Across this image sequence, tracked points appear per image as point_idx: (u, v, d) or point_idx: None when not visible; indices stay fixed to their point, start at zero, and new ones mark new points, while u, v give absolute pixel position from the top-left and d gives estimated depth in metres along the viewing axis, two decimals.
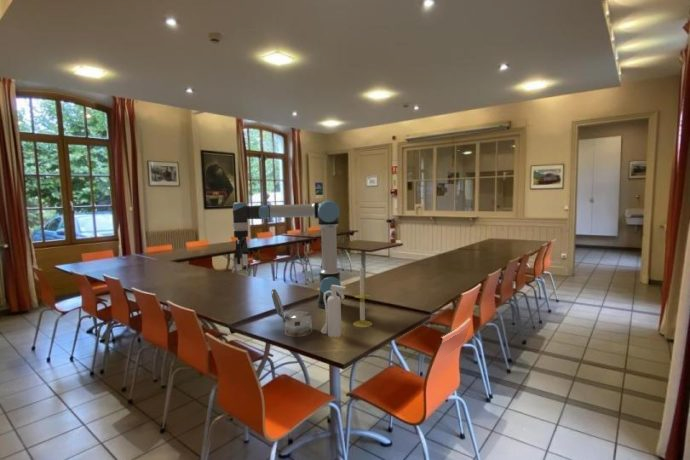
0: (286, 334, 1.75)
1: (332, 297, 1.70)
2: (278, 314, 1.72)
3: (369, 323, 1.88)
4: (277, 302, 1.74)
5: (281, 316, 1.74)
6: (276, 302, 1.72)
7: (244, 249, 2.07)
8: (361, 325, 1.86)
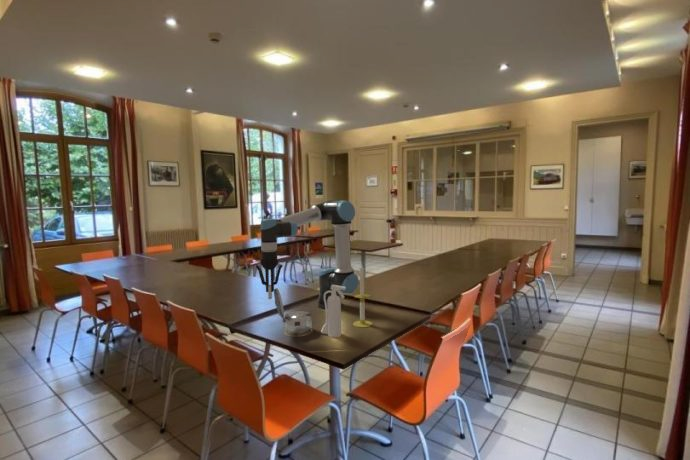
0: (286, 334, 1.75)
1: (332, 297, 1.70)
2: (279, 314, 1.72)
3: (369, 323, 1.88)
4: (279, 302, 1.74)
5: (281, 316, 1.74)
6: (278, 301, 1.72)
7: None
8: (361, 325, 1.86)
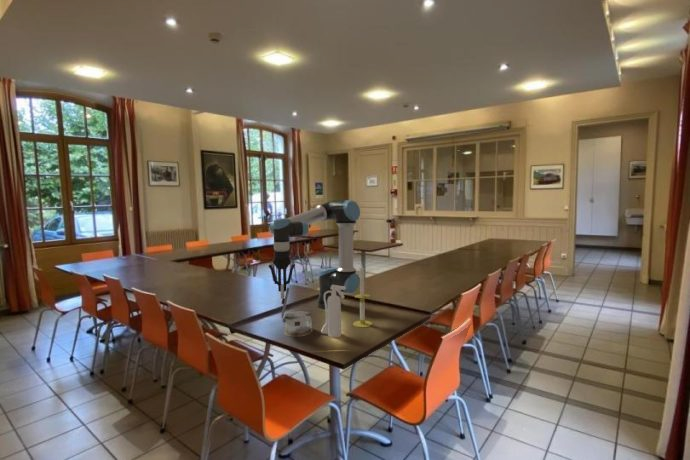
0: (286, 334, 1.75)
1: (332, 297, 1.70)
2: None
3: (369, 323, 1.88)
4: (286, 301, 1.74)
5: (282, 315, 1.74)
6: (286, 301, 1.72)
7: None
8: (361, 325, 1.86)
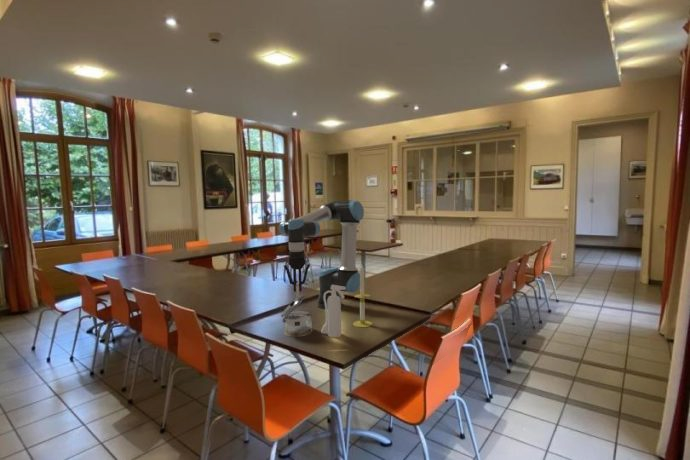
0: (286, 334, 1.75)
1: (332, 297, 1.70)
2: (285, 313, 1.72)
3: (369, 323, 1.88)
4: None
5: (283, 315, 1.74)
6: (296, 306, 1.73)
7: None
8: (361, 325, 1.86)
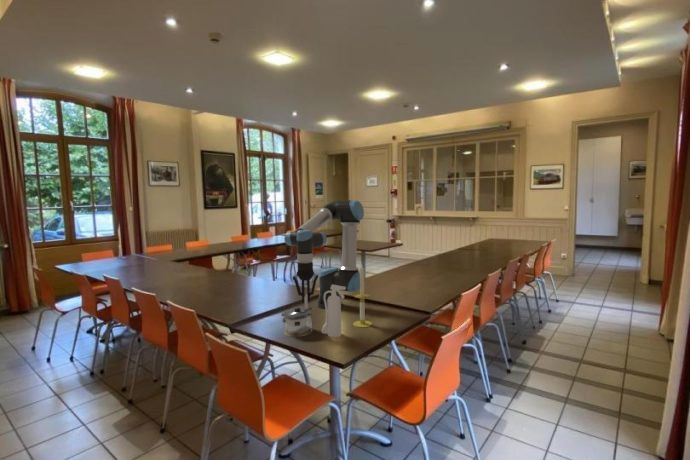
0: (286, 334, 1.75)
1: (332, 297, 1.70)
2: (288, 316, 1.72)
3: (369, 323, 1.88)
4: None
5: (284, 316, 1.74)
6: None
7: (307, 287, 1.77)
8: (361, 325, 1.86)
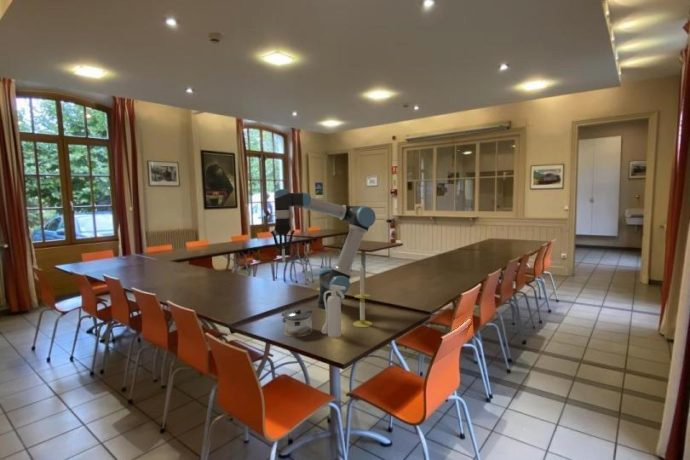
0: (286, 334, 1.75)
1: (332, 297, 1.70)
2: (288, 316, 1.72)
3: (369, 323, 1.88)
4: None
5: (285, 316, 1.74)
6: None
7: (284, 241, 1.95)
8: (361, 325, 1.86)
